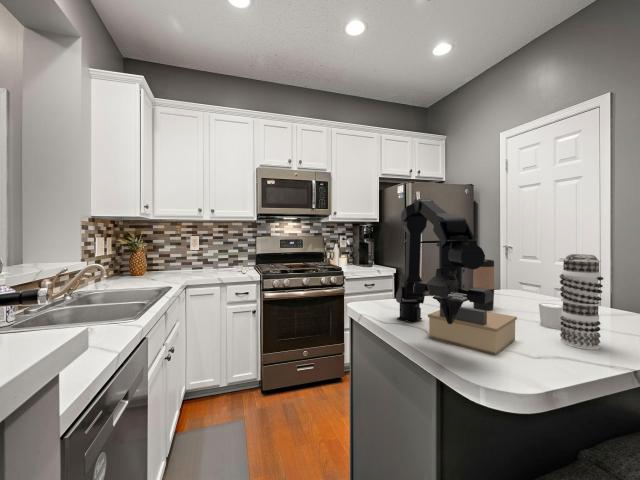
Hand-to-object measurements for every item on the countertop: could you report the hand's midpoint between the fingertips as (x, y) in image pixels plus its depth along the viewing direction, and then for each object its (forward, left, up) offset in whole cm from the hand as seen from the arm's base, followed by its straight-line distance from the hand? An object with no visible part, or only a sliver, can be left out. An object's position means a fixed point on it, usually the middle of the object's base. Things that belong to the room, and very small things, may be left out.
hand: (450, 323), depth 79 cm
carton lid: (0, +14, -1) cm, 14 cm away
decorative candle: (+22, +32, -7) cm, 39 cm away
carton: (0, +14, -7) cm, 16 cm away
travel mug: (-11, +54, -7) cm, 55 cm away
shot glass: (+13, +46, -8) cm, 48 cm away
